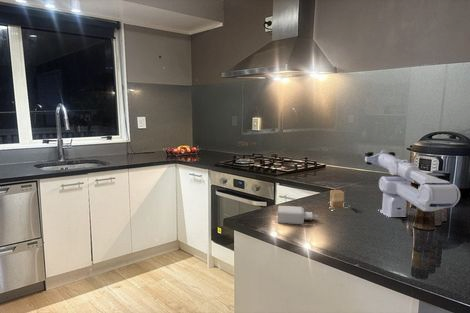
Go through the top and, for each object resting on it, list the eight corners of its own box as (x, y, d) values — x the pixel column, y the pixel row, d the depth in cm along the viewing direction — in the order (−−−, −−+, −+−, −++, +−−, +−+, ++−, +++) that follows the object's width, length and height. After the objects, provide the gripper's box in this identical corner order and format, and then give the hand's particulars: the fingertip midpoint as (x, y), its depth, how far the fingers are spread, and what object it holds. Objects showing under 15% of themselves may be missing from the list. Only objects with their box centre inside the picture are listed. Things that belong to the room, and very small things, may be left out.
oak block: (343, 208, 138) (344, 192, 138) (332, 208, 138) (333, 192, 137) (339, 205, 143) (340, 190, 142) (329, 205, 143) (330, 190, 142)
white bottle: (318, 226, 119) (277, 224, 121) (316, 218, 128) (278, 216, 130) (319, 214, 118) (277, 211, 121) (317, 206, 127) (278, 204, 130)
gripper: (406, 152, 135) (390, 146, 148) (371, 152, 135) (359, 146, 148) (404, 168, 137) (389, 161, 150) (370, 169, 136) (357, 161, 149)
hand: (374, 155), depth 149 cm, fingers open, 7 cm apart
